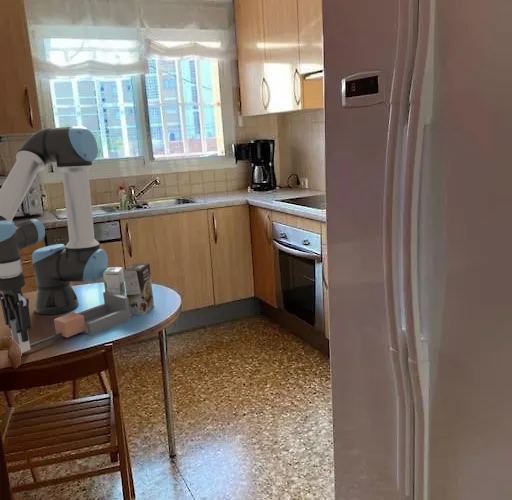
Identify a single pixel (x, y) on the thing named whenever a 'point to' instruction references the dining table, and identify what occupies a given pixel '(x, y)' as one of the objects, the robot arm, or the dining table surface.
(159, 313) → the dining table surface
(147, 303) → the coffee box
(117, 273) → the syrup box
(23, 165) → the robot arm
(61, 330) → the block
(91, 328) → the tray
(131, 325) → the dining table surface
